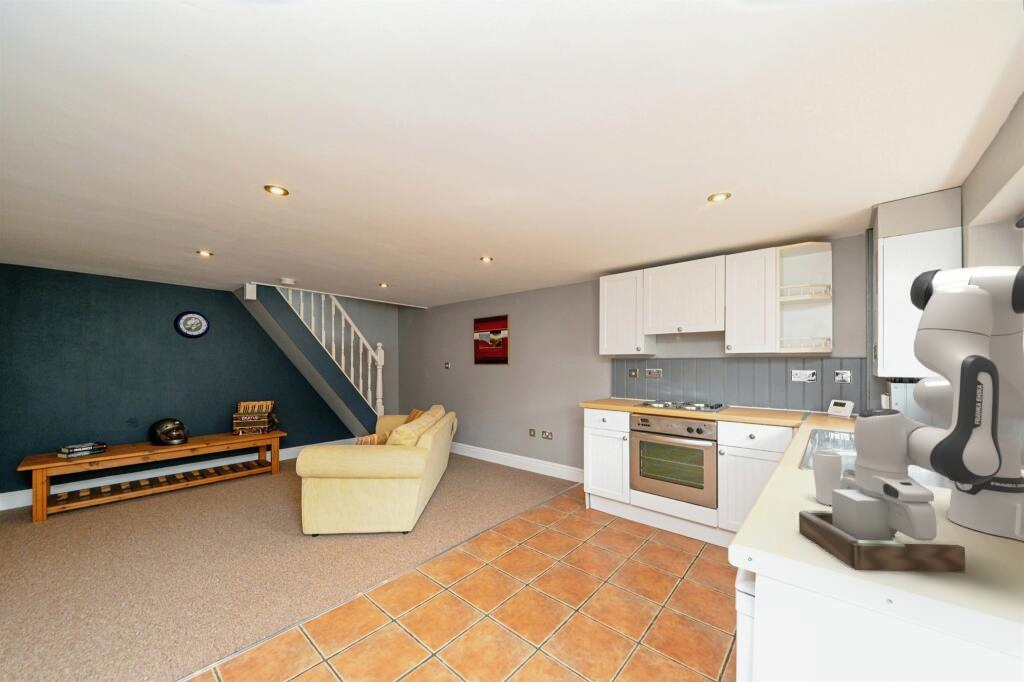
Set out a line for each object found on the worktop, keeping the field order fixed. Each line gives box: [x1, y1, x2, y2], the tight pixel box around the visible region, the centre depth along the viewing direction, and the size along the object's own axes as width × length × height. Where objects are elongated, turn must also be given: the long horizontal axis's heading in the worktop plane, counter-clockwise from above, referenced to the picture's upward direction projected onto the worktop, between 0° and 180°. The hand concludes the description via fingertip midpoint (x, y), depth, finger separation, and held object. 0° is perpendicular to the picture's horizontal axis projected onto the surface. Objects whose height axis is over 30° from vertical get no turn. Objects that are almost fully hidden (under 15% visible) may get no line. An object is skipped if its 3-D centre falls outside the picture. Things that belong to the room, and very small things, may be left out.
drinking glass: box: [812, 449, 843, 507], centre depth 115 cm, size 7×7×15 cm
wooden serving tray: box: [798, 509, 967, 573], centre depth 88 cm, size 22×17×6 cm
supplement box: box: [831, 490, 891, 541], centre depth 88 cm, size 7×7×13 cm
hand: (882, 541), depth 87 cm, fingers closed, pressing on supplement box
